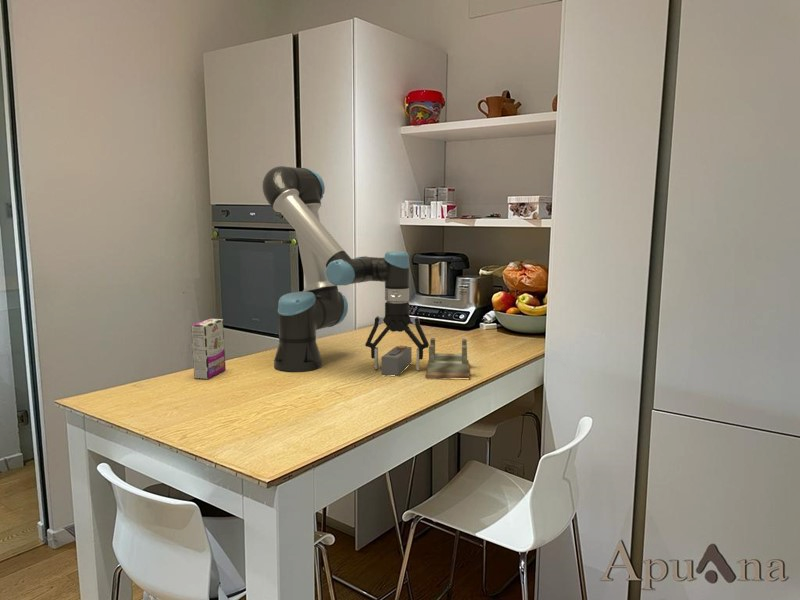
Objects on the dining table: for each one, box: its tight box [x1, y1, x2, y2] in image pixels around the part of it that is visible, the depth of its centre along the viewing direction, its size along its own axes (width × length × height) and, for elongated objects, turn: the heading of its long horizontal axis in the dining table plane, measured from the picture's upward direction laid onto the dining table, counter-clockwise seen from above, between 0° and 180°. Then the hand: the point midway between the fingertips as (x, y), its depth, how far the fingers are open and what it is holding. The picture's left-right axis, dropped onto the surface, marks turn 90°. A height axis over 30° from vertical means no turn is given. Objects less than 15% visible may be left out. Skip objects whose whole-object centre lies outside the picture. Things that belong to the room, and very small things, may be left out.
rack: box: [424, 337, 470, 379], centre depth 193 cm, size 13×20×9 cm, turn 175°
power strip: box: [381, 344, 413, 377], centre depth 194 cm, size 5×16×6 cm, turn 163°
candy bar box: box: [190, 318, 227, 380], centre depth 187 cm, size 11×5×16 cm, turn 168°
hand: (397, 369), depth 195 cm, fingers open, 12 cm apart
